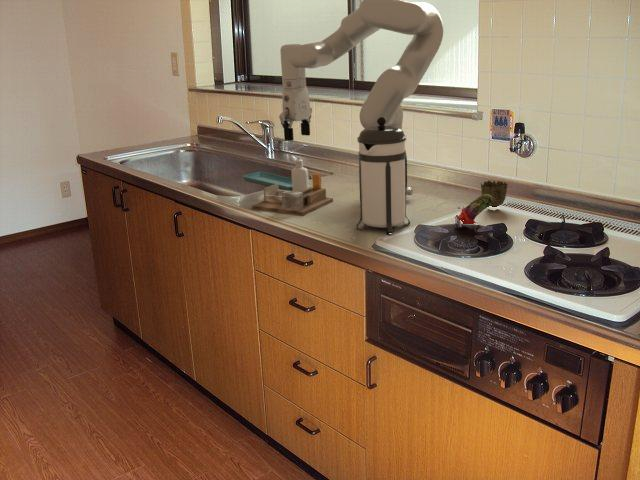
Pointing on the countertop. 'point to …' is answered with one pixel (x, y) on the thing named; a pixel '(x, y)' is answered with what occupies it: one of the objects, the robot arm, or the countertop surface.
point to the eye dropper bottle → (299, 177)
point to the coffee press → (382, 176)
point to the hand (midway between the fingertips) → (297, 137)
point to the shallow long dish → (269, 180)
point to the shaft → (316, 186)
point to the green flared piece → (495, 191)
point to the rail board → (292, 200)
